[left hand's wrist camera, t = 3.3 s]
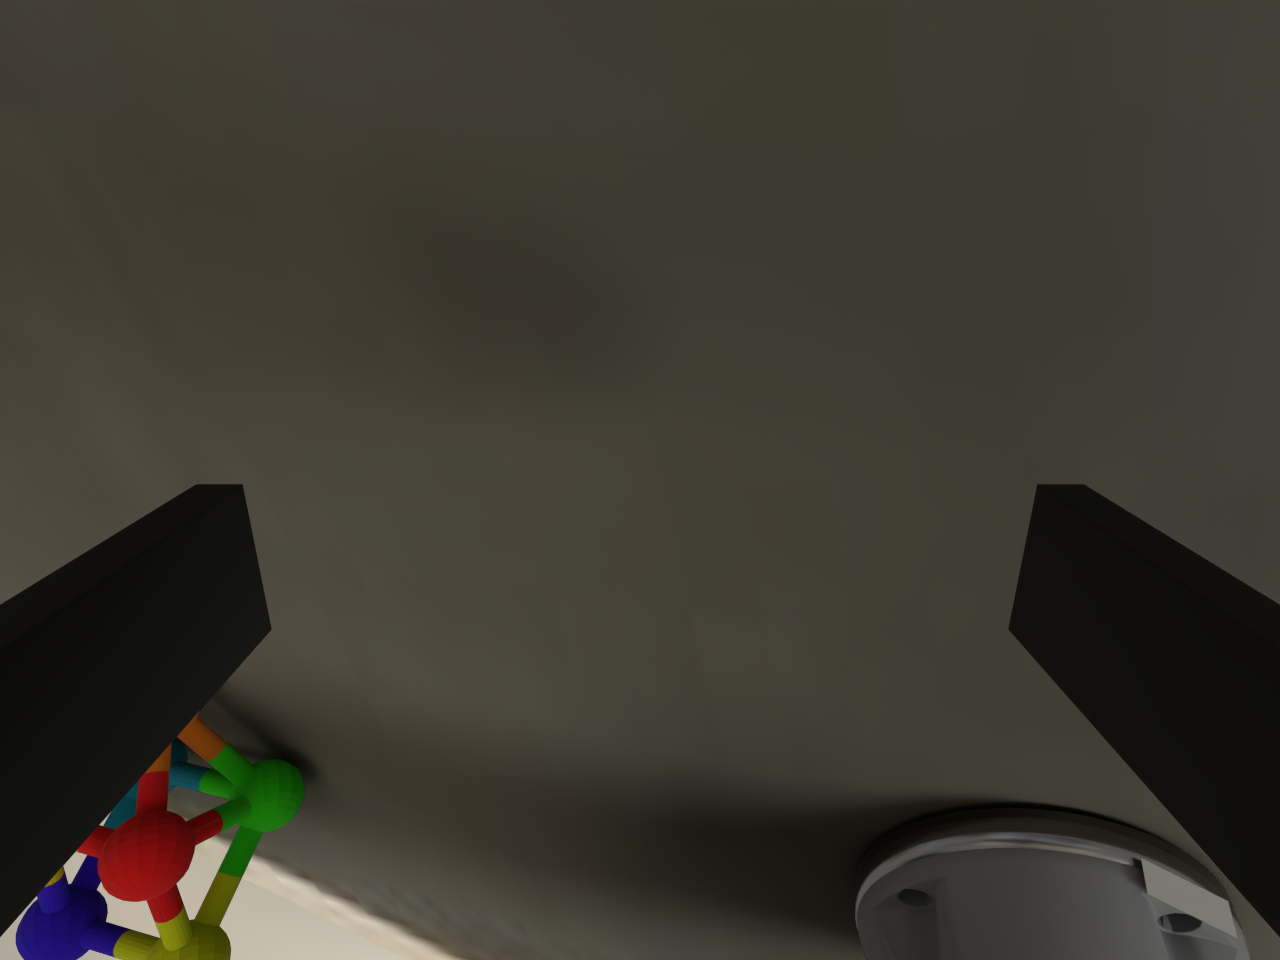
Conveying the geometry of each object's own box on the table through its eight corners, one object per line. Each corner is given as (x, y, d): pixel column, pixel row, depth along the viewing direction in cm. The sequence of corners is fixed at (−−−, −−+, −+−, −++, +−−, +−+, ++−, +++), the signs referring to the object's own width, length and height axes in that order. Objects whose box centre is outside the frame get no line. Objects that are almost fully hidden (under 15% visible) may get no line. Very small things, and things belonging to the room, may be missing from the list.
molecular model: (143, 616, 38) (125, 915, 28) (310, 687, 47) (340, 931, 37) (-83, 768, 39) (-176, 1112, 29) (124, 809, 48) (107, 1081, 38)
